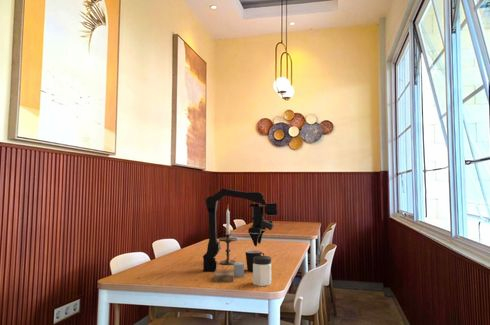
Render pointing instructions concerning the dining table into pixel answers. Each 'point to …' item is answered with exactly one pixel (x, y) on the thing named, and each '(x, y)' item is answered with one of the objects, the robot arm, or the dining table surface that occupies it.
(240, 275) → the block
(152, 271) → the dining table surface
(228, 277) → the base
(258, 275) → the jar
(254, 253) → the coffee mug
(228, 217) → the candlestick
